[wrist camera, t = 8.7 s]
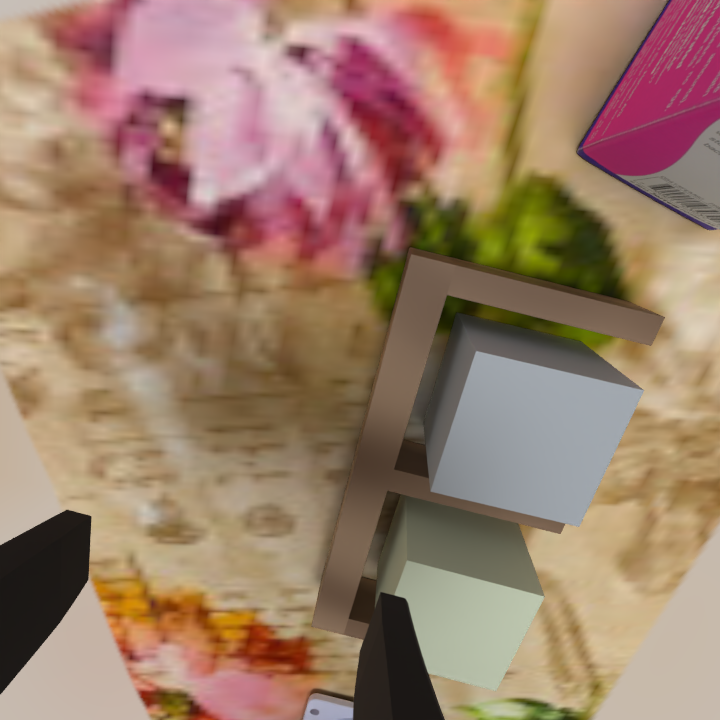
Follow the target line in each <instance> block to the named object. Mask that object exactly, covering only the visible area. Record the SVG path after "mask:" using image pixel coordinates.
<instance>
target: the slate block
mask: <svg viewBox="0 0 720 720" xmlns="http://www.w3.org/2000/svg"><path fill="white" fill-rule="evenodd" d="M643 391H644V390H643V389H642V388H640V387H639V386H638V385H636V384H635V383H634V382H633V381H631V380H630V379H629V378H627V377H626V376H625V375H623V374H622V373H621V372H620V371H618V370H617V369H616V368H614V367H613V366H612V365H611V364H609V363H608V362H607V361H605V360H604V359H603V358H602V357H600V356H599V355H598V354H596V353H595V352H594V351H592V350H591V349H590V348H589V347H587V346H586V345H585V344H583V343H582V342H581V341H577V340H573V339H568V338H564V337H560V336H555V335H551V334H547V333H543V332H538V331H534V330H530V329H526V328H521V327H517V326H513V325H509V324H504V323H500V322H496V321H491V320H487V319H483V318H479V317H474V316H470V315H466V314H462V313H457V312H456V316H455V319H454V322H453V326H452V329H451V332H450V336H449V339H448V342H447V346H446V349H445V352H444V356H443V359H442V362H441V366H440V369H439V372H438V376H437V379H436V382H435V386H434V389H433V392H432V396H431V399H430V402H429V406H428V409H427V412H426V416H425V419H424V422H423V424H424V434H425V444H426V453H427V463H428V473H429V483H430V491H431V492H435V493H439V494H443V495H447V496H452V497H456V498H460V499H464V500H468V501H473V502H477V503H481V504H485V505H489V506H494V507H498V508H502V509H506V510H510V511H515V512H519V513H523V514H527V515H532V516H536V517H540V518H544V519H548V520H553V521H557V522H561V523H565V524H569V525H574V526H578V527H579V526H580V524H581V522H582V520H583V518H584V515H585V513H586V511H587V509H588V507H589V505H590V503H591V501H592V499H593V497H594V494H595V492H596V490H597V488H598V486H599V484H600V482H601V480H602V478H603V476H604V473H605V471H606V469H607V467H608V465H609V463H610V461H611V459H612V457H613V455H614V452H615V450H616V448H617V446H618V444H619V442H620V440H621V438H622V436H623V434H624V431H625V429H626V427H627V425H628V423H629V421H630V419H631V417H632V415H633V412H634V410H635V408H636V406H637V404H638V402H639V400H640V398H641V396H642V394H643Z"/></svg>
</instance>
